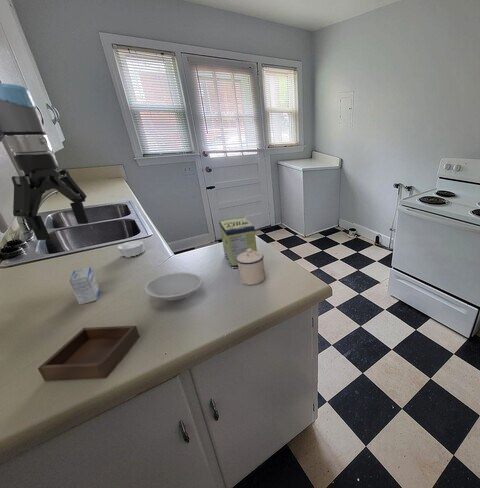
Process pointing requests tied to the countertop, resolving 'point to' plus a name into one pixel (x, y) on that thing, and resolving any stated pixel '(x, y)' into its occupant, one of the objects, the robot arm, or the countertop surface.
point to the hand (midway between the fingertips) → (65, 230)
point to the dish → (173, 286)
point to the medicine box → (84, 285)
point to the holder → (90, 353)
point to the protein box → (237, 238)
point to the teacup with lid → (251, 267)
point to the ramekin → (131, 248)
